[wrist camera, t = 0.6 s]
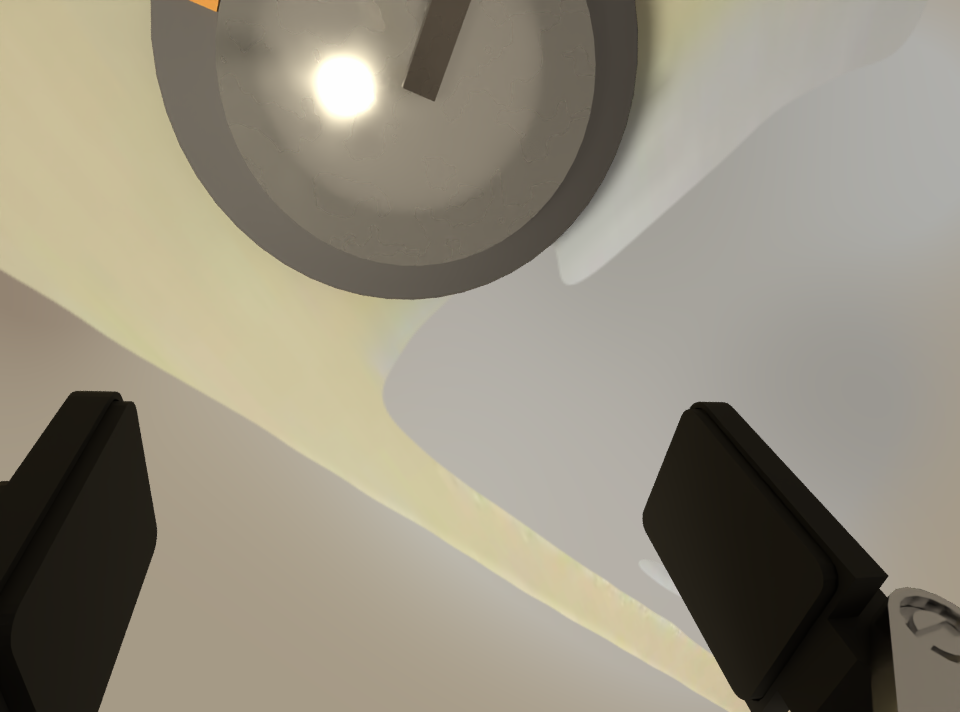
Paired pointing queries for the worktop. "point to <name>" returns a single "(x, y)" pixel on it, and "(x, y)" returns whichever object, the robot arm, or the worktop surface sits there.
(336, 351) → the worktop surface
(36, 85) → the worktop surface
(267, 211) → the dial base
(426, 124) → the dial
